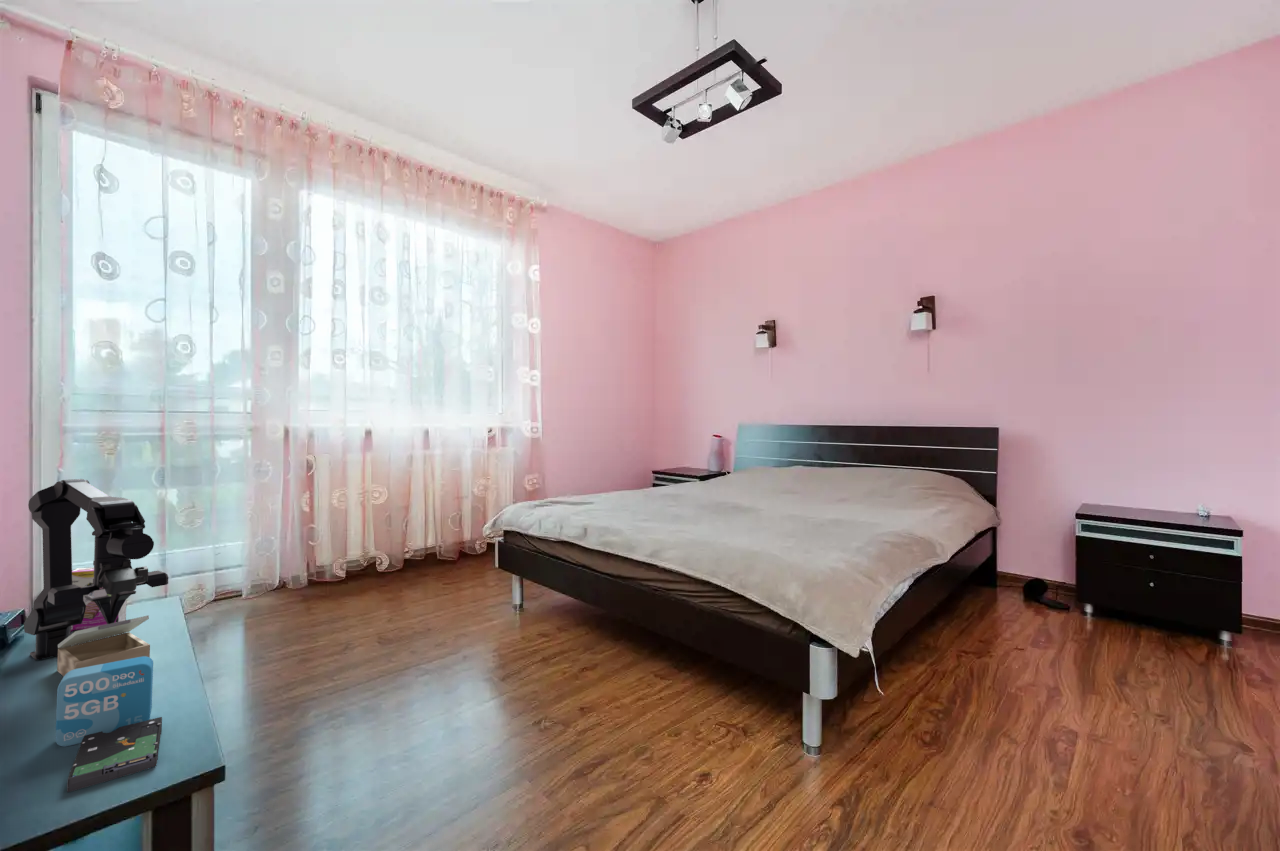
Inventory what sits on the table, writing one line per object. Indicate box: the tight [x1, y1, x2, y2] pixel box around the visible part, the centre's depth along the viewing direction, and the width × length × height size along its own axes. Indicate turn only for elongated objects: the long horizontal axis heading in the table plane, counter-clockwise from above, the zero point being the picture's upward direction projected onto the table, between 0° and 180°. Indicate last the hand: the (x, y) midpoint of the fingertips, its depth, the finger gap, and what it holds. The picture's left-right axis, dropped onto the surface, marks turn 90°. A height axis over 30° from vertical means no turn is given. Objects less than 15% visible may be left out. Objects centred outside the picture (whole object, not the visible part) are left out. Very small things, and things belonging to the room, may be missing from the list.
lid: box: [58, 615, 150, 648], centre depth 121 cm, size 16×12×1 cm
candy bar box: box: [71, 566, 128, 633], centre depth 146 cm, size 11×5×16 cm, turn 115°
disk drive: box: [66, 716, 163, 793], centre depth 89 cm, size 10×3×15 cm
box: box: [56, 631, 151, 677], centre depth 121 cm, size 14×12×5 cm
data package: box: [55, 656, 154, 747], centre depth 96 cm, size 12×4×12 cm, turn 130°
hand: (110, 624), depth 119 cm, fingers closed, pressing on lid
